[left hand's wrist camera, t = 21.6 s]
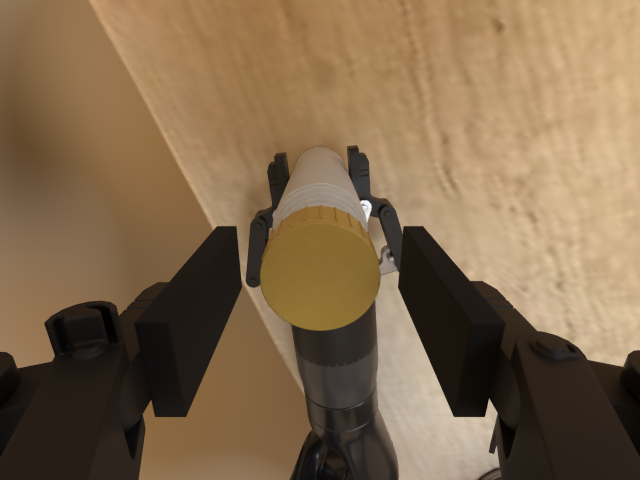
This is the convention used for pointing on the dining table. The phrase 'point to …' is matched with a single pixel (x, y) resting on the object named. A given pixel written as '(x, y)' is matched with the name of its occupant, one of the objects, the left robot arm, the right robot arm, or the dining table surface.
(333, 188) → the bottle
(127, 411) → the left robot arm
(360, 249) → the cap
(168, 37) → the dining table surface
